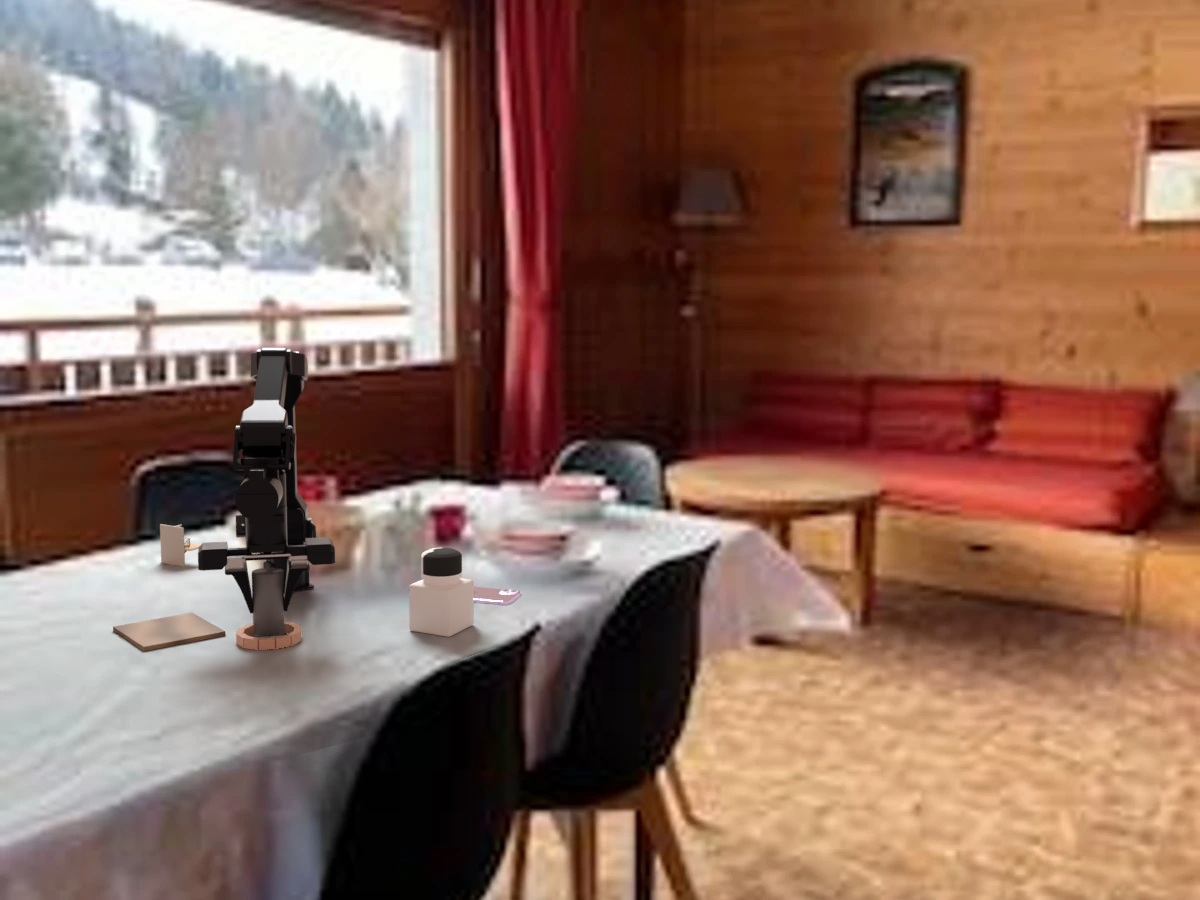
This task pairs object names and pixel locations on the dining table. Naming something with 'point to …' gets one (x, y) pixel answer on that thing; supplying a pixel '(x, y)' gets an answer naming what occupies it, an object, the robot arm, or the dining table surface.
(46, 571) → the dining table surface
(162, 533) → the architectural model
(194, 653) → the dining table surface
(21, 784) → the dining table surface
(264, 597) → the cylinder
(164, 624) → the coaster
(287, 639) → the orange segmented ring
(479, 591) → the mobile phone
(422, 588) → the medicine bottle
